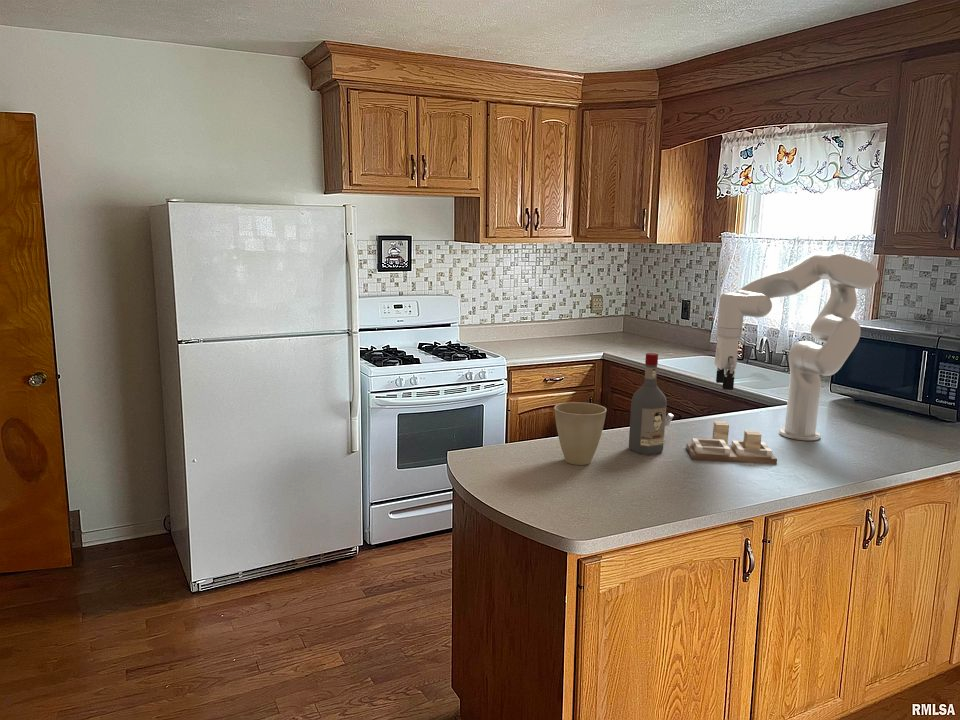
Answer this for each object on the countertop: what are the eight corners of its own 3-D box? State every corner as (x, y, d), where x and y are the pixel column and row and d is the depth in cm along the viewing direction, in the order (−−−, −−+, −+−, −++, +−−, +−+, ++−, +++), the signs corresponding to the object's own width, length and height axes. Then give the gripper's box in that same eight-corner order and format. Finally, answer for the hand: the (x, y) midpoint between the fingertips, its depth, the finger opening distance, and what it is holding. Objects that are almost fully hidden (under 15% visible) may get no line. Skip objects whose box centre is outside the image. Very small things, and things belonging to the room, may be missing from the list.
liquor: (624, 447, 233) (630, 352, 228) (647, 444, 238) (653, 350, 232) (643, 456, 225) (650, 357, 220) (667, 452, 230) (674, 355, 224)
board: (686, 447, 235) (688, 424, 234) (765, 451, 233) (768, 428, 231) (693, 459, 223) (694, 435, 222) (776, 464, 221) (779, 439, 220)
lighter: (651, 433, 249) (652, 410, 248) (654, 432, 251) (655, 409, 249) (669, 438, 244) (671, 414, 243) (672, 437, 245) (674, 413, 244)
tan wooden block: (712, 439, 245) (713, 421, 244) (724, 439, 244) (726, 421, 243) (714, 442, 241) (716, 424, 240) (727, 443, 241) (729, 425, 239)
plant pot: (612, 459, 222) (615, 407, 219) (589, 473, 210) (592, 417, 207) (567, 450, 230) (569, 399, 227) (542, 462, 218) (544, 409, 215)
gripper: (711, 328, 245) (706, 379, 248) (722, 336, 228) (717, 391, 231) (735, 329, 244) (730, 380, 247) (748, 337, 227) (743, 392, 230)
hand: (724, 386), depth 239 cm, fingers open, 9 cm apart
